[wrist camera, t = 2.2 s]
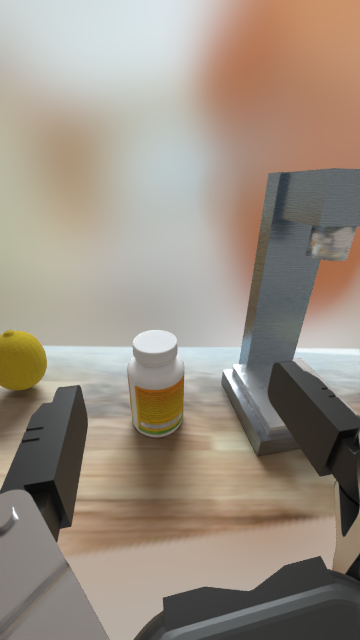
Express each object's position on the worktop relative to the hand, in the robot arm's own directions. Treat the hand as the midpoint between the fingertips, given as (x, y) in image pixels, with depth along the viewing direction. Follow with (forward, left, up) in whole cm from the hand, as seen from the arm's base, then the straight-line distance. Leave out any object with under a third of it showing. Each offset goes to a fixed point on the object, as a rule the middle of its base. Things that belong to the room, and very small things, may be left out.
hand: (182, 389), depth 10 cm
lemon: (-15, +18, -15) cm, 28 cm away
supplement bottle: (0, +11, -15) cm, 19 cm away
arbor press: (+16, +11, -14) cm, 24 cm away
